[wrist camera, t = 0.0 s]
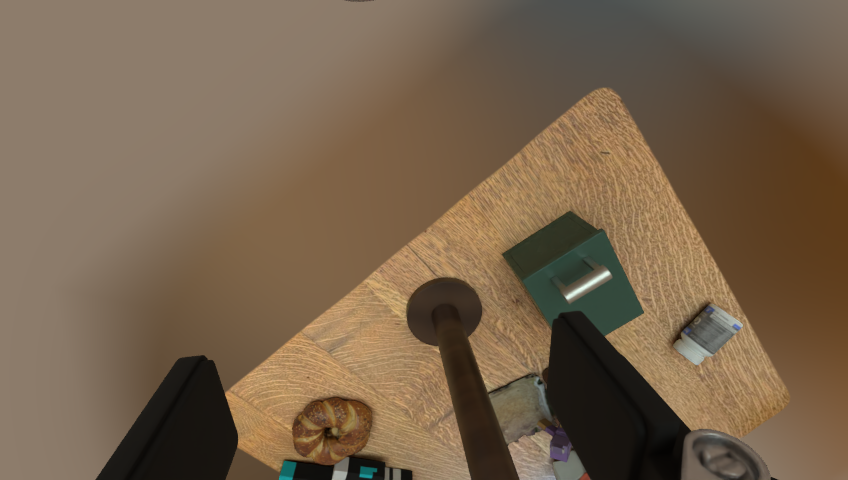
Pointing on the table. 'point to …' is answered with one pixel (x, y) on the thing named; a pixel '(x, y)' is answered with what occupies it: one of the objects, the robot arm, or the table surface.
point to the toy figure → (556, 440)
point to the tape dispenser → (570, 469)
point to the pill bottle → (707, 334)
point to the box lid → (585, 285)
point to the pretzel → (332, 430)
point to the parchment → (521, 407)
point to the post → (462, 371)
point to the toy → (343, 471)
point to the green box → (546, 246)
